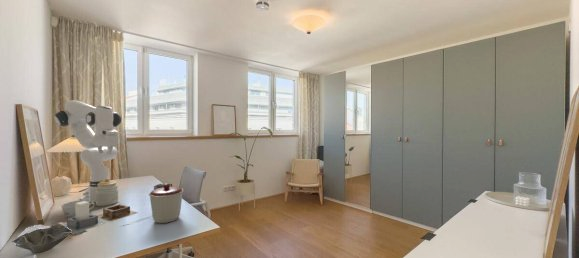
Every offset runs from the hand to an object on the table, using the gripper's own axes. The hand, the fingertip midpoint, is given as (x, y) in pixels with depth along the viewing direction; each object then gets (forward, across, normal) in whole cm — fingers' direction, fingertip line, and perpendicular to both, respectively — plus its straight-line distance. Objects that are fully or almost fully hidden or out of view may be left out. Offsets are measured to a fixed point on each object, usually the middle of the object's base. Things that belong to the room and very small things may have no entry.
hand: (105, 153), depth 149 cm
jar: (+37, -20, +11) cm, 44 cm away
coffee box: (+37, +27, +20) cm, 50 cm away
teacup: (+37, -9, -10) cm, 40 cm away
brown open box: (+37, +12, 0) cm, 39 cm away
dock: (+37, +12, -17) cm, 43 cm away
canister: (+37, +45, +9) cm, 59 cm away
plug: (+36, +12, -17) cm, 42 cm away
